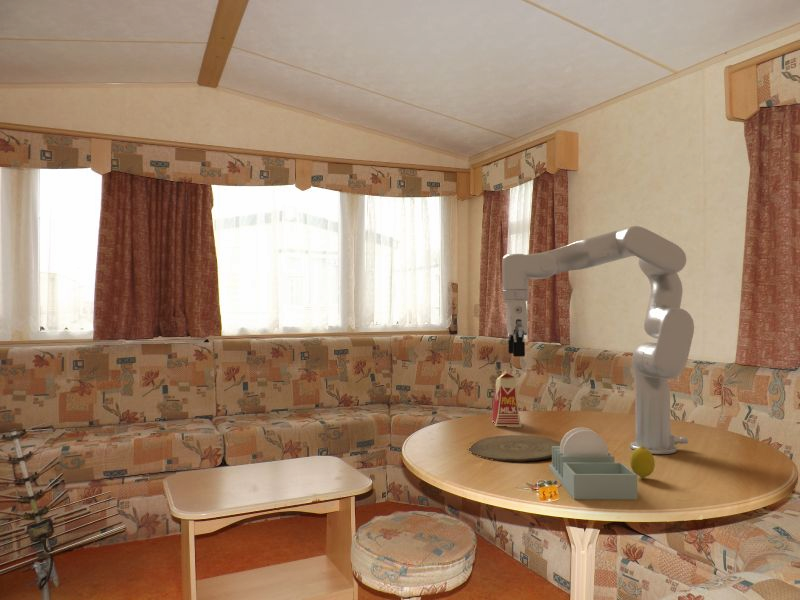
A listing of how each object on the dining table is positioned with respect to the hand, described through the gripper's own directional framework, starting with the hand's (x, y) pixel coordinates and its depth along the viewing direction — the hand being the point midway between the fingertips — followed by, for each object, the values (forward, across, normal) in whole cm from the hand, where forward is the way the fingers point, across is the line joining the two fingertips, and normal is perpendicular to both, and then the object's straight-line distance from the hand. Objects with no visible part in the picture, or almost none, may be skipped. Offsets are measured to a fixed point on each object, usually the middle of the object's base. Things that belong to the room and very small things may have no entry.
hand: (516, 354), depth 166 cm
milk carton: (+29, +39, -2) cm, 49 cm away
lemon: (+29, -24, -27) cm, 46 cm away
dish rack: (+29, -27, -13) cm, 41 cm away
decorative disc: (+29, +4, -1) cm, 30 cm away
